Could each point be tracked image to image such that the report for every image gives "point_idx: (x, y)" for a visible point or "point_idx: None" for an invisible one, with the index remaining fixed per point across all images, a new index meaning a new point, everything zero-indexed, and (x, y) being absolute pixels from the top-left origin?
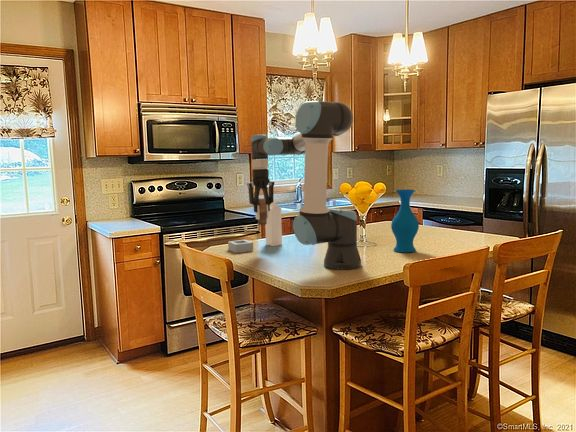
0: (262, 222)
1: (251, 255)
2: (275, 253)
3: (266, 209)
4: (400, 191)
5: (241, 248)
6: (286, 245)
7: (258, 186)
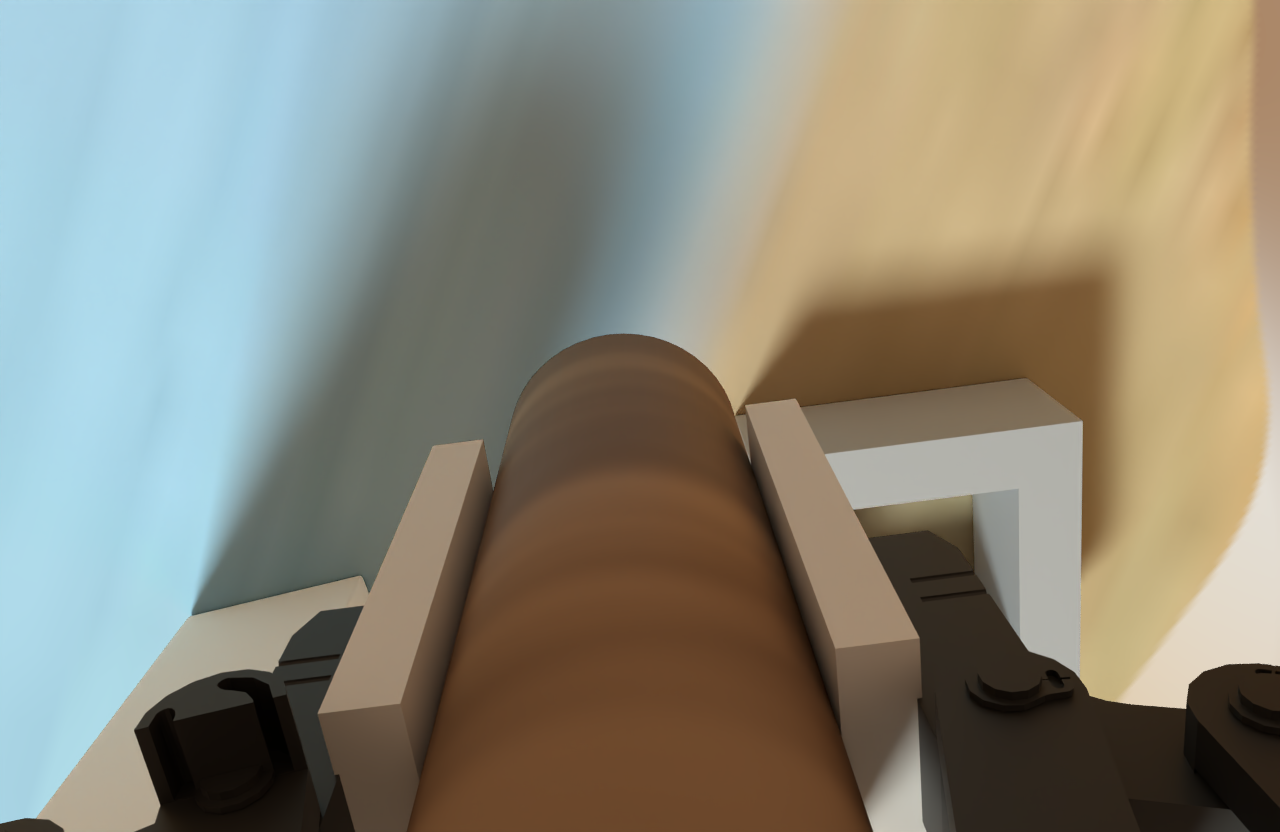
0: (660, 357)
1: (893, 87)
2: (485, 40)
3: (446, 613)
4: None
5: (952, 407)
6: (135, 542)
7: None
